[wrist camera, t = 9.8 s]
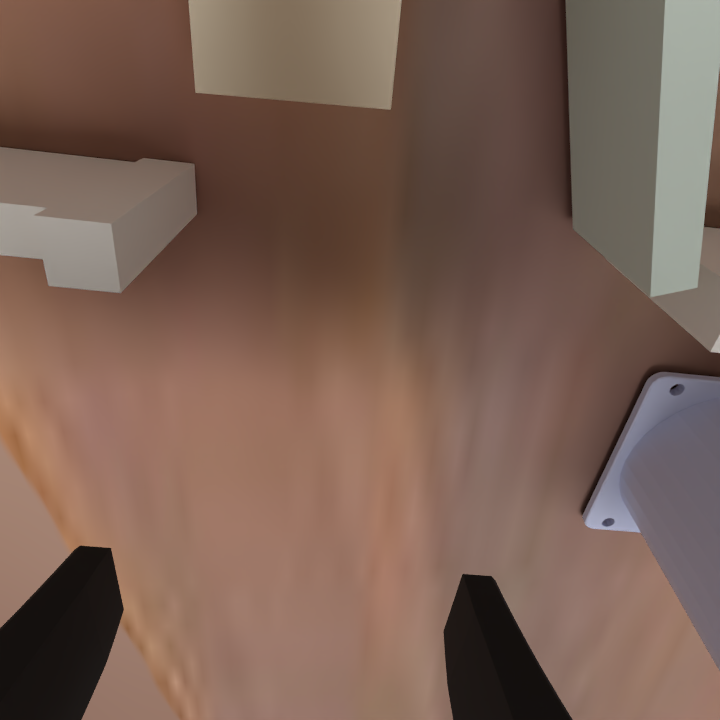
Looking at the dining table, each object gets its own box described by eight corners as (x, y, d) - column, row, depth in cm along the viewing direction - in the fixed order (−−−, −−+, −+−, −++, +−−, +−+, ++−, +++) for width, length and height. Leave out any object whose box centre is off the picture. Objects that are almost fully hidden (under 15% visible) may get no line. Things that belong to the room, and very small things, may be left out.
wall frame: (806, 233, 16) (1007, 319, 11) (781, 277, 17) (959, 376, 12) (-70, 133, 15) (-295, 180, 10) (-55, 186, 16) (-255, 255, 11)
